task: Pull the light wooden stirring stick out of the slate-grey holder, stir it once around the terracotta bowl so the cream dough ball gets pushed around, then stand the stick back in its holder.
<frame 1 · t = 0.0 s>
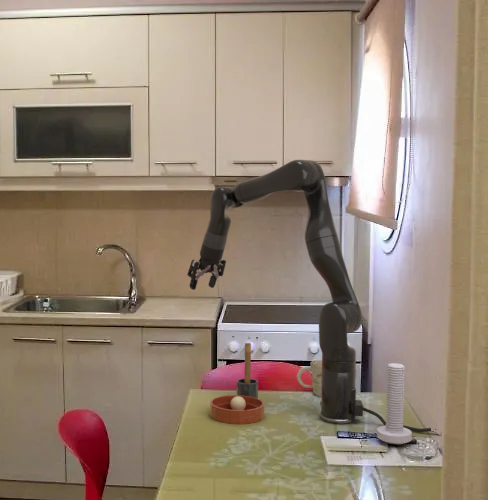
hand: (201, 287, 234), 31 cm above the table, tool tilted 20°, fingers open, 8 cm apart
dough ball: (238, 411, 199), resting on bowl
stick: (247, 402, 208), resting on holder
screw: (393, 443, 175), on the table
bowl: (237, 417, 195), on the table
mug: (316, 394, 220), on the table
holder: (247, 404, 208), on the table
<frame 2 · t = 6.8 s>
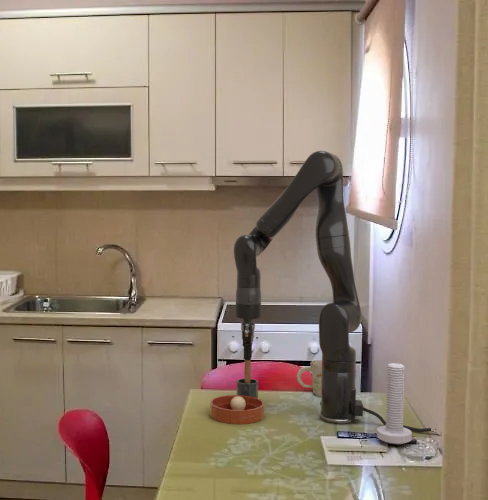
hand: (247, 358, 207), 14 cm above the table, tool pointing down, fingers closed on stick, 2 cm apart
stick: (247, 402, 208), point 1 cm above the table, touching gripper
everything else where it was.
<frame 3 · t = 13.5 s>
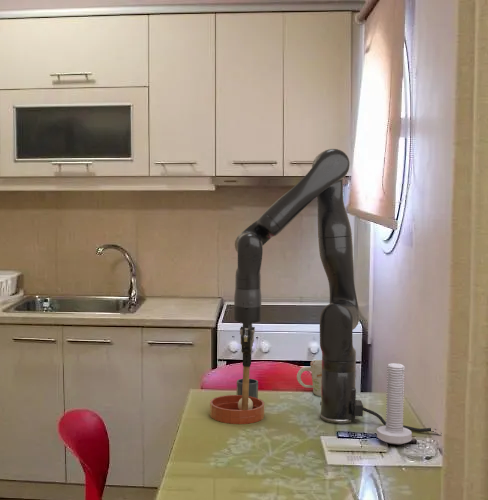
hand: (246, 365, 194), 15 cm above the table, tool pointing down, fingers closed on stick, 2 cm apart
dough ball: (245, 412, 198), point 1 cm above the table, tilted 10°, touching bowl
stick: (244, 411, 195), point 2 cm above the table, touching gripper
everything else where it was.
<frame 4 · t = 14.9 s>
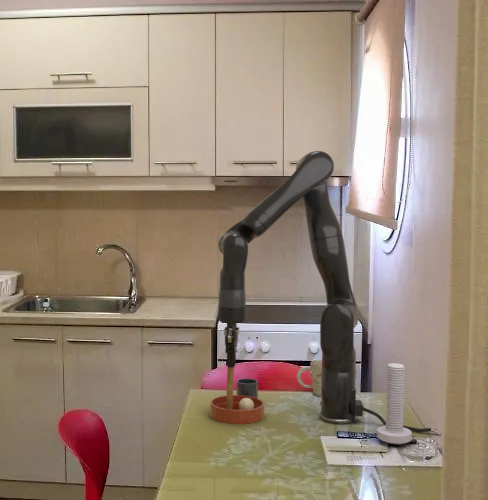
hand: (231, 365, 193), 15 cm above the table, tool pointing down, fingers closed on stick, 2 cm apart
stick: (228, 412, 194), point 2 cm above the table, touching gripper
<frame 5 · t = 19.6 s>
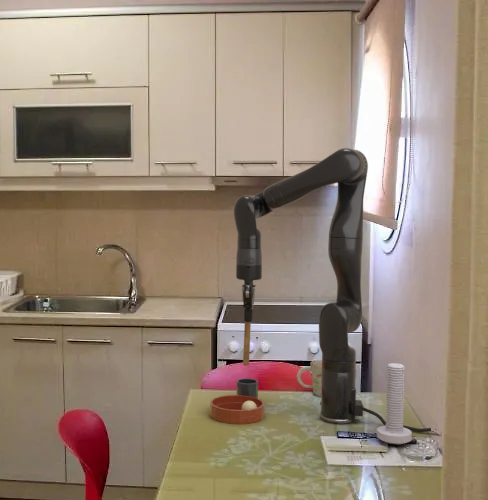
hand: (248, 320, 206), 25 cm above the table, tool pointing down, fingers closed on stick
dough ball: (246, 407, 196), point 3 cm above the table, tilted 86°, touching bowl
stick: (246, 364, 207), point 12 cm above the table, touching gripper
everything else where it was.
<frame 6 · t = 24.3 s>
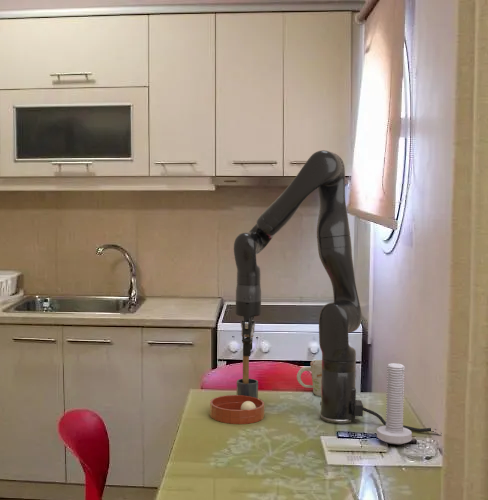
hand: (247, 352, 207), 16 cm above the table, tool pointing down, fingers open, 8 cm apart
dough ball: (245, 406, 196), point 3 cm above the table, tilted 92°, touching bowl
stick: (245, 402, 208), resting on holder
everything else where it was.
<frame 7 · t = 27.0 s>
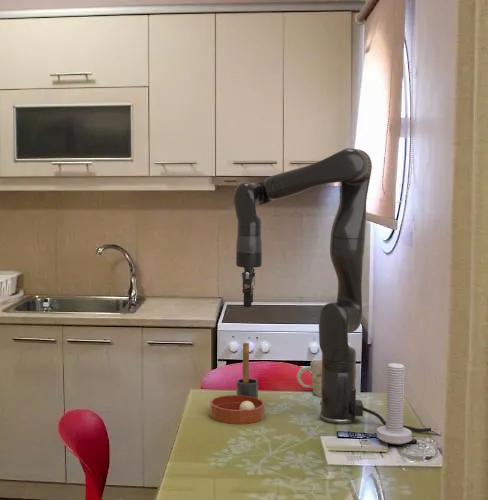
hand: (248, 304, 206), 30 cm above the table, tool pointing down, fingers open, 8 cm apart
dough ball: (243, 407, 196), point 3 cm above the table, tilted 85°, touching bowl
everything else where it was.
at the end: stick 0.5 cm off-centre in the holder, point 0.5 cm above the holder's base; dough ball moved 3.4 cm from its start; dough ball inside the target area in the bowl (2.3 cm from its centre), point 2.5 cm above the bowl's base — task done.
